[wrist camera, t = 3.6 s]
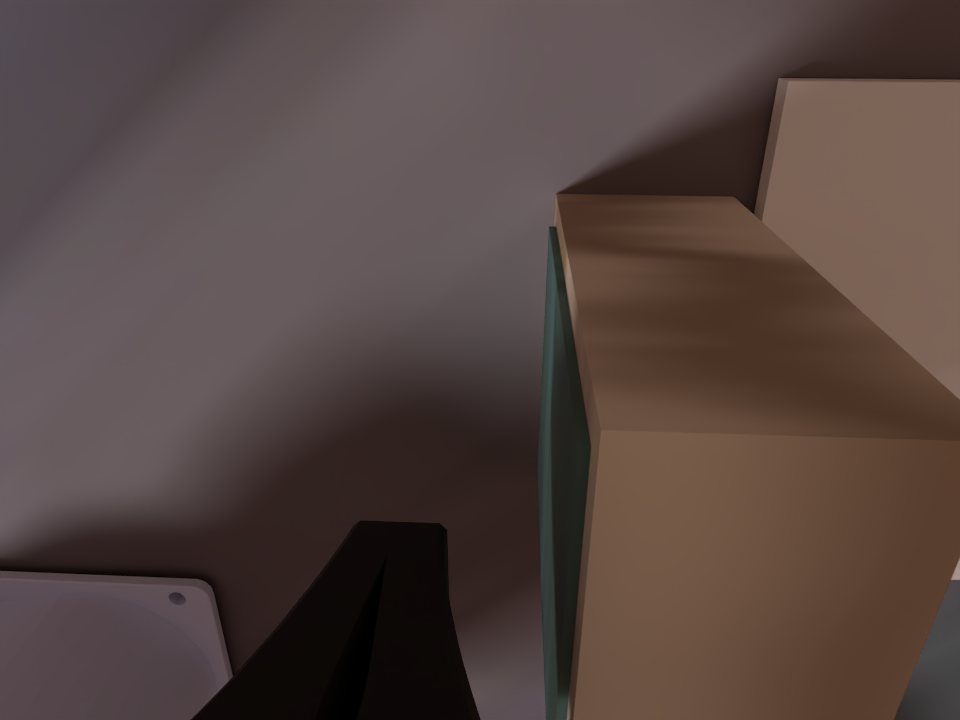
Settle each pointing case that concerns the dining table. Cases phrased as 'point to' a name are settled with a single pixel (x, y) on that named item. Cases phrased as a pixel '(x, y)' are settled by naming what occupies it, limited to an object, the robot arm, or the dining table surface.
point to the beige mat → (874, 202)
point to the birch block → (729, 476)
